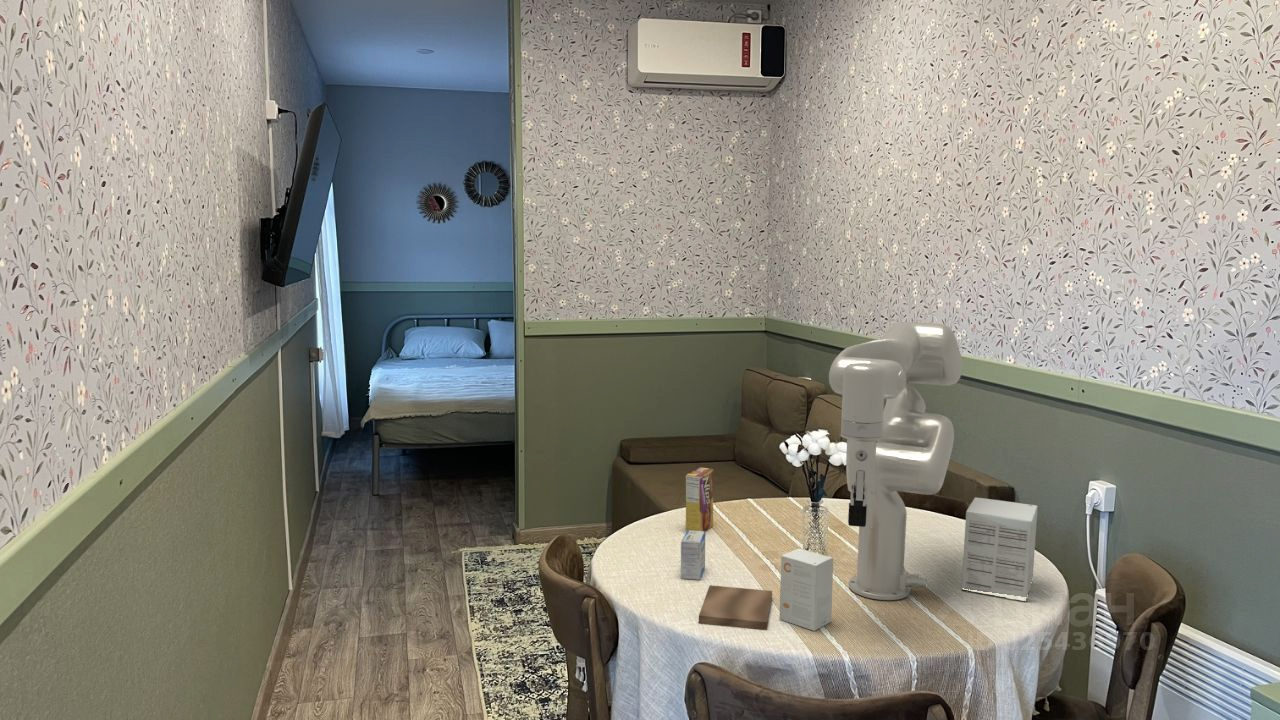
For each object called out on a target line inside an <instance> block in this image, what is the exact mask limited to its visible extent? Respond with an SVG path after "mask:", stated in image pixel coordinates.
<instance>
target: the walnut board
mask: <svg viewBox="0 0 1280 720" xmlns="http://www.w3.org/2000/svg"><path fill="white" fill-rule="evenodd" d="M707 588H708V589H707V592H706V593H705V597H704V600H703V603H702V605H701V607H700V608H701V609H700V610H699V611H700V612H699V614H698V623H699V624H703V623H704V624H706V625H716V626H726V627H734V628H735V627H736V628H744V629H745V628H747V629H755V630H768V624H769V619H770V612H771V606H772V601H773V600H772V599H773V590H767V589H765V590H764V589H754V588H745V587H733V586H724V585H723V586H720V585H712V584H711V585H709V586H708V587H707Z"/></svg>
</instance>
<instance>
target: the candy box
mask: <svg viewBox="0 0 1280 720" xmlns="http://www.w3.org/2000/svg"><path fill="white" fill-rule="evenodd" d="M712 527H714V469H713V468H709V467H707V468H706V467H698V468H697V469H694V470H693V471H691V472H689V473H687V474H686V475H685V533H686V532H687V531H690V530H692V531H704V532H705V533H706V532H707V531H708V530H709V529H711V528H712Z"/></svg>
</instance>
